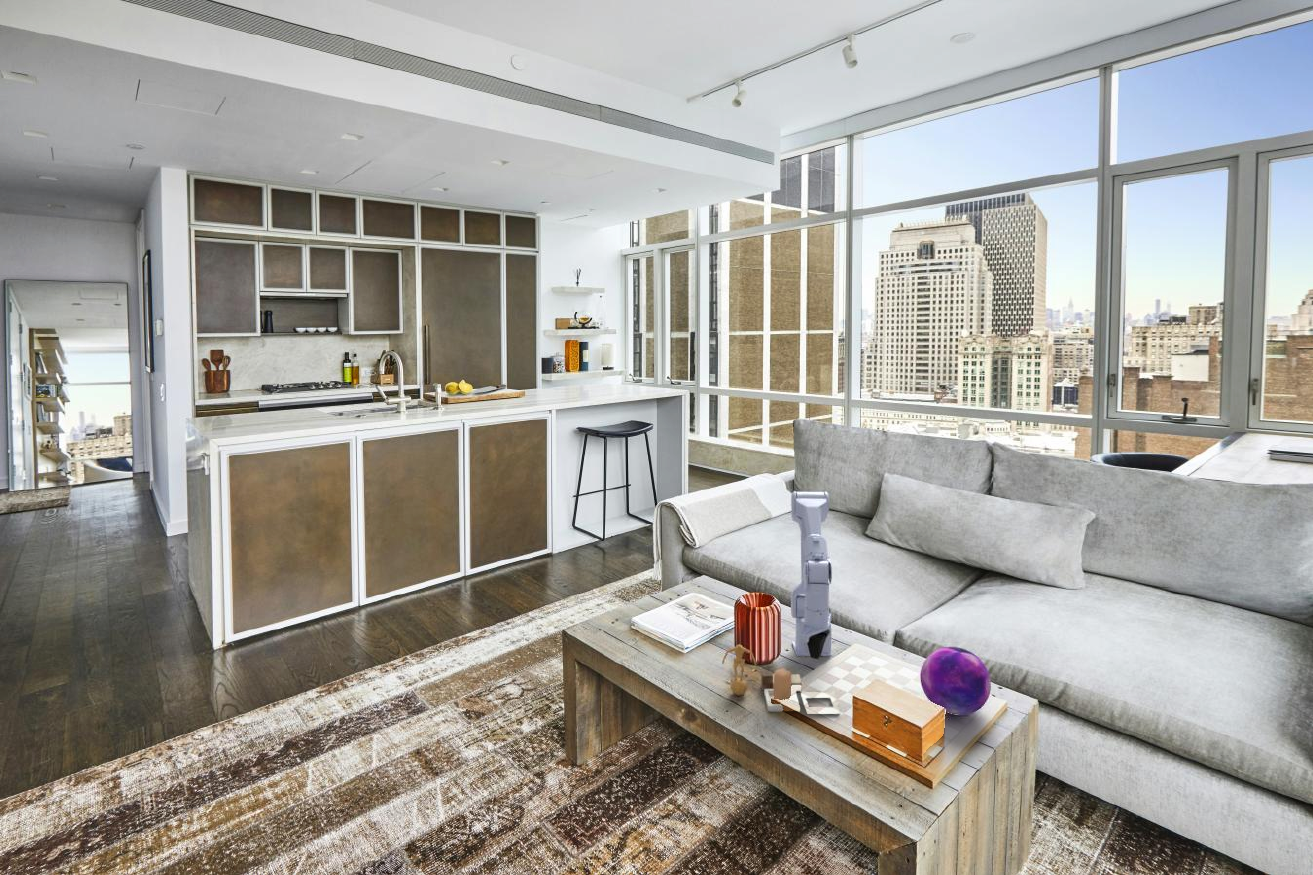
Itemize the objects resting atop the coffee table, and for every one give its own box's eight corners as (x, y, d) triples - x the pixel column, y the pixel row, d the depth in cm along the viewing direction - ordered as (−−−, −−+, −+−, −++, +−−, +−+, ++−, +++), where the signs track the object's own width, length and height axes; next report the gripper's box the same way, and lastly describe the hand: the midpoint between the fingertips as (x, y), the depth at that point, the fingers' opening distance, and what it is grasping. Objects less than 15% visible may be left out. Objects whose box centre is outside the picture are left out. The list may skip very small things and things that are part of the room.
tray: (795, 694, 172) (795, 688, 171) (800, 711, 164) (800, 705, 164) (764, 694, 172) (764, 688, 172) (768, 711, 164) (768, 705, 164)
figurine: (721, 697, 171) (721, 651, 169) (722, 684, 177) (722, 640, 174) (756, 699, 170) (756, 653, 167) (756, 686, 175) (756, 641, 173)
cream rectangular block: (799, 683, 176) (799, 674, 176) (801, 692, 172) (802, 682, 172) (771, 683, 176) (771, 674, 176) (773, 692, 173) (773, 682, 172)
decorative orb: (959, 736, 154) (963, 673, 151) (905, 704, 167) (908, 645, 164) (1003, 716, 161) (1007, 655, 158) (947, 686, 174) (951, 630, 171)
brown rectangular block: (771, 685, 176) (771, 670, 175) (772, 690, 173) (772, 675, 173) (761, 685, 176) (761, 670, 175) (762, 690, 173) (762, 675, 173)
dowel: (786, 694, 170) (787, 668, 169) (792, 703, 167) (794, 677, 165) (771, 696, 170) (771, 670, 168) (776, 706, 166) (777, 679, 164)
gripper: (814, 593, 182) (812, 641, 184) (788, 613, 170) (787, 664, 173) (840, 599, 178) (838, 649, 180) (815, 620, 166) (814, 673, 169)
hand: (815, 657), depth 176 cm, fingers closed
